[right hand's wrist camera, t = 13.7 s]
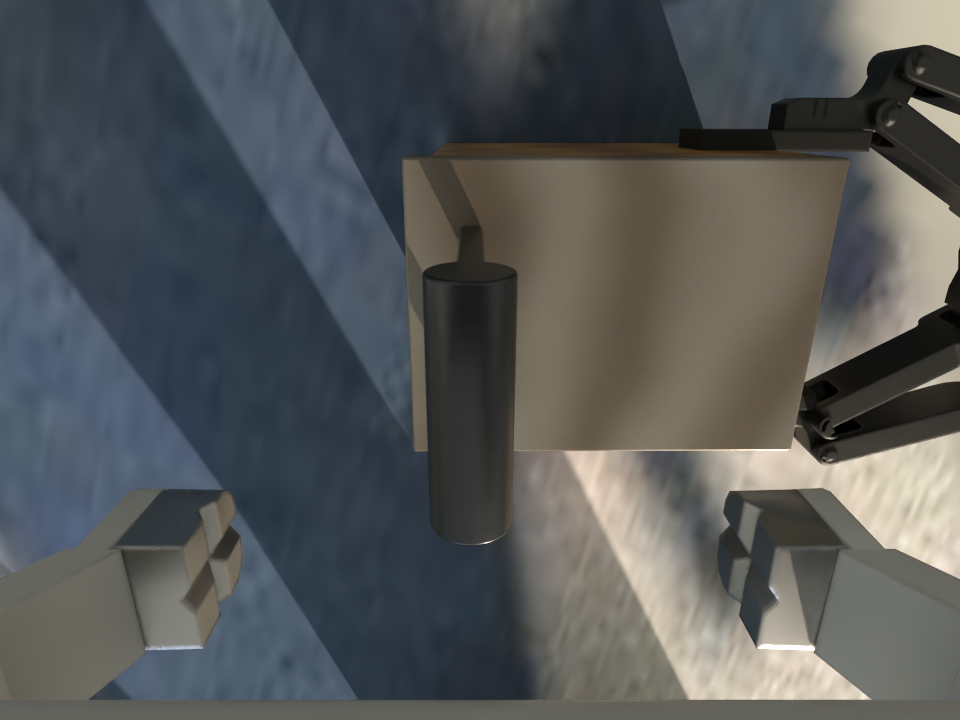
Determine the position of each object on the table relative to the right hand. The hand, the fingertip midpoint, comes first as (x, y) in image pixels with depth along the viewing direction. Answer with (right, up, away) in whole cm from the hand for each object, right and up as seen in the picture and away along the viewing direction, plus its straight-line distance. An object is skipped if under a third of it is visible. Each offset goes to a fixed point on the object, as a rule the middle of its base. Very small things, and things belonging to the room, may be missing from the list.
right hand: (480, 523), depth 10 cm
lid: (+4, +5, +12) cm, 14 cm away
